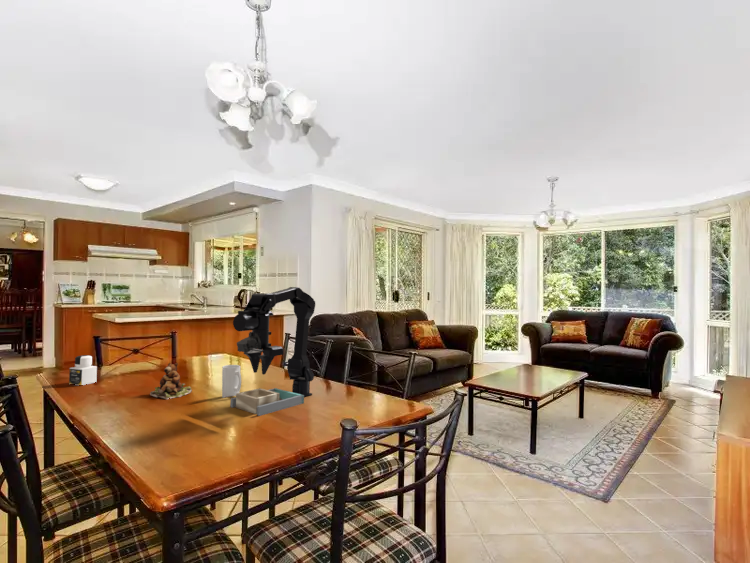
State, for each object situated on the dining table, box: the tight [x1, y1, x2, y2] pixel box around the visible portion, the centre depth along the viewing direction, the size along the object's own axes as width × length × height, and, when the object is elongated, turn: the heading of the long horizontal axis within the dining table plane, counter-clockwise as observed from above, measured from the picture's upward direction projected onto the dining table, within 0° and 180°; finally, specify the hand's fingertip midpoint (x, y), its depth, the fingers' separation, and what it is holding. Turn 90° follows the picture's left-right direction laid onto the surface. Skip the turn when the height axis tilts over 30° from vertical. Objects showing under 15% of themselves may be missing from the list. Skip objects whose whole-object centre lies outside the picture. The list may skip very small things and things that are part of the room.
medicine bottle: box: [68, 354, 98, 386], centre depth 180 cm, size 7×7×12 cm
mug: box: [221, 364, 242, 399], centre depth 162 cm, size 10×7×12 cm, turn 50°
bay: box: [229, 387, 305, 417], centre depth 149 cm, size 20×16×4 cm
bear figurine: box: [149, 362, 193, 400], centre depth 166 cm, size 14×15×12 cm
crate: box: [235, 387, 280, 415], centre depth 146 cm, size 10×11×5 cm
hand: (259, 373), depth 146 cm, fingers open, 4 cm apart
